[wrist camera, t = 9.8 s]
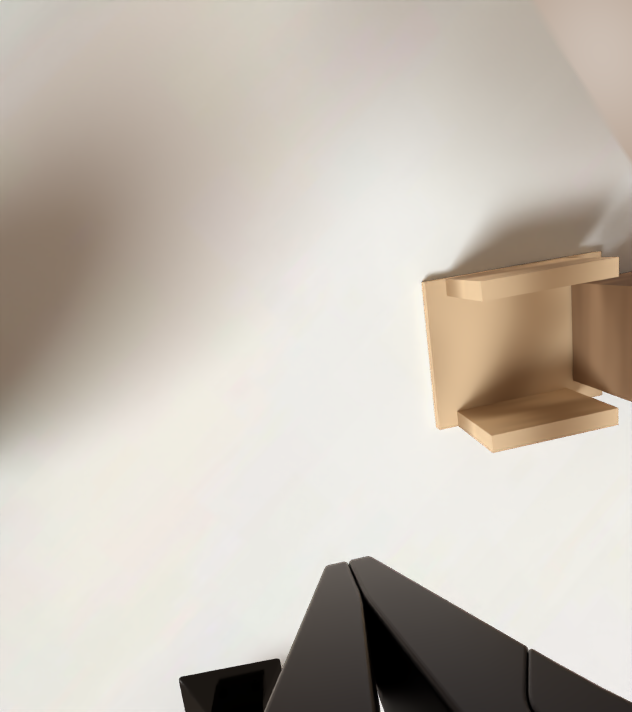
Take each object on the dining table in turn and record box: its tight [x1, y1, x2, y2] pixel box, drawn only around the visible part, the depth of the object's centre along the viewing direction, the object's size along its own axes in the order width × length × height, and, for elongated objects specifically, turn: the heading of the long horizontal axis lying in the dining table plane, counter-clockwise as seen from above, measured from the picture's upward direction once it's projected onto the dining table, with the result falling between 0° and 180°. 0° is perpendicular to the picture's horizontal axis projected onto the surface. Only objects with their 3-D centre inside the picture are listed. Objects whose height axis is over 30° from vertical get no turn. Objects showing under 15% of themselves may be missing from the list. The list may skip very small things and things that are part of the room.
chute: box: [422, 251, 619, 453], centre depth 20 cm, size 9×7×4 cm
